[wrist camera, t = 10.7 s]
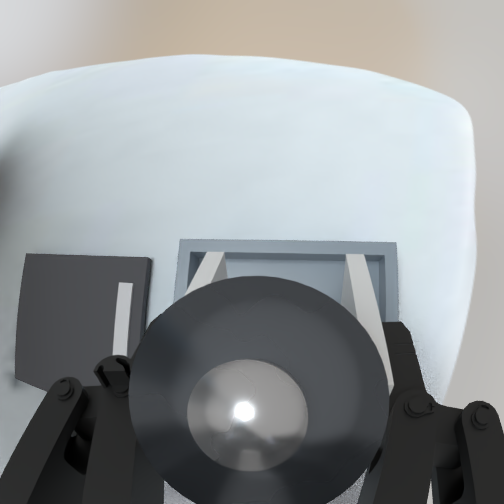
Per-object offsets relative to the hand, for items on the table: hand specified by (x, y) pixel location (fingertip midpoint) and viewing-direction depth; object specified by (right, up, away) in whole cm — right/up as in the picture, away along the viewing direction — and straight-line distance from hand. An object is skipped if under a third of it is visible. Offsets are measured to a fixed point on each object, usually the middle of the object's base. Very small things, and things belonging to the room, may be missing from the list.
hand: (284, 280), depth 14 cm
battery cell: (0, -5, +2) cm, 5 cm away
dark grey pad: (-16, -5, +9) cm, 19 cm away
